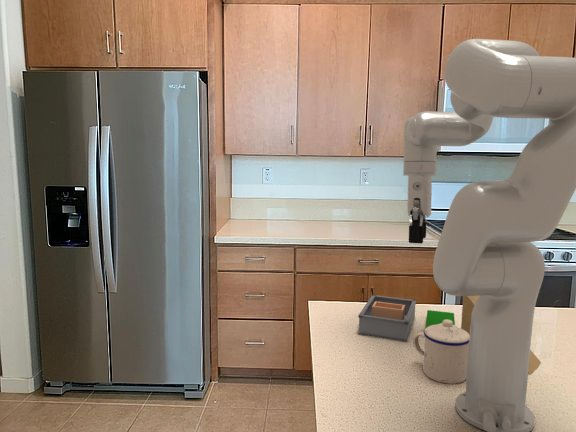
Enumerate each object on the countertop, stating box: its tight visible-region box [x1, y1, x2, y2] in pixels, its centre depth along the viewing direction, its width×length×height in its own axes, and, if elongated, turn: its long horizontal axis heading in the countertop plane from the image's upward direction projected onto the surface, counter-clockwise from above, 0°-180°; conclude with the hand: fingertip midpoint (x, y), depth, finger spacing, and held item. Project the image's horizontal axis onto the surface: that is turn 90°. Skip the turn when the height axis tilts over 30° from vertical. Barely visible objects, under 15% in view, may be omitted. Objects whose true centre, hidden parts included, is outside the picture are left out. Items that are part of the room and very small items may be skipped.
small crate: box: [372, 301, 405, 320], centre depth 119 cm, size 4×8×5 cm, turn 68°
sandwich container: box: [460, 296, 542, 376], centre depth 100 cm, size 9×15×15 cm, turn 46°
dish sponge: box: [425, 309, 456, 329], centre depth 119 cm, size 7×14×2 cm, turn 161°
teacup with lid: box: [413, 319, 470, 385], centre depth 93 cm, size 12×9×12 cm
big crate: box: [357, 294, 417, 343], centre depth 119 cm, size 18×12×5 cm
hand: (417, 240), depth 108 cm, fingers open, 9 cm apart
